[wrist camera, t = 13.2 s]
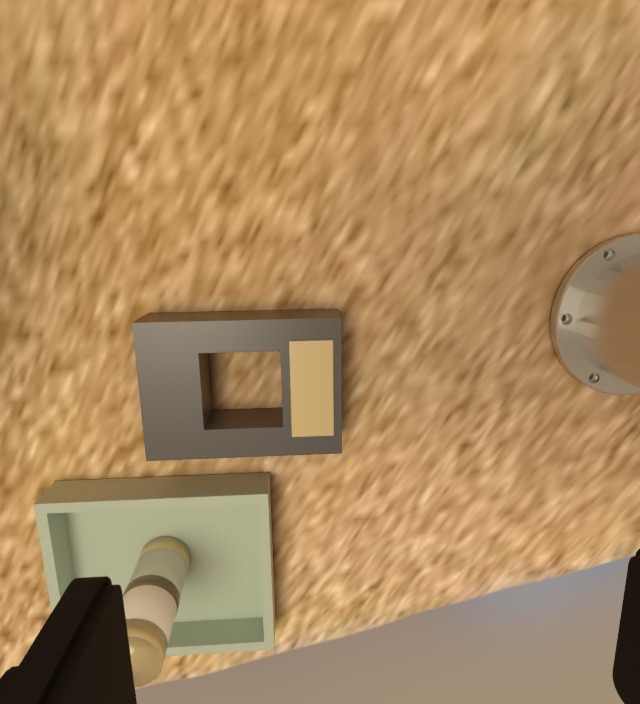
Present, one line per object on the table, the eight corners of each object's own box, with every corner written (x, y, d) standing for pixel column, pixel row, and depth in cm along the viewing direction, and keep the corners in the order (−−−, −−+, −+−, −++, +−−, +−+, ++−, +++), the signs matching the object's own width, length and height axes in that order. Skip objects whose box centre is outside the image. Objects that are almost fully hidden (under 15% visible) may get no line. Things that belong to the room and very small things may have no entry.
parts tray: (269, 472, 41) (268, 493, 38) (275, 617, 45) (274, 649, 41) (55, 480, 40) (33, 504, 37) (77, 628, 44) (59, 662, 40)
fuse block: (335, 308, 38) (341, 318, 34) (336, 431, 41) (342, 454, 37) (148, 313, 38) (131, 323, 33) (160, 438, 40) (145, 462, 36)
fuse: (186, 534, 41) (156, 632, 31) (194, 575, 42) (167, 683, 33) (136, 539, 41) (90, 640, 31) (145, 581, 42) (103, 691, 32)
